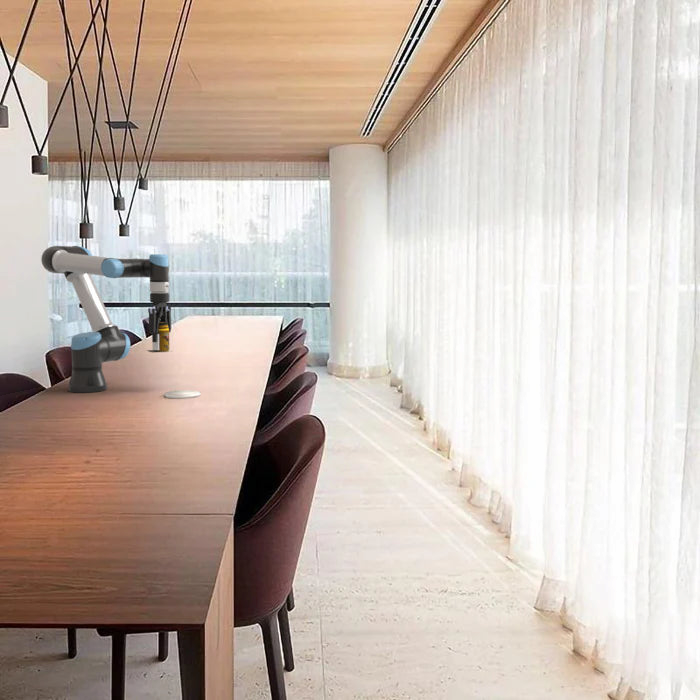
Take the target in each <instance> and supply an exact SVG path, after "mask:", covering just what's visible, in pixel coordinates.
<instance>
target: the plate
mask: <svg viewBox="0 0 700 700" xmlns="http://www.w3.org/2000/svg"><path fill="white" fill-rule="evenodd" d="M163 396H164V398H167V399H172V400H173V399H177V400H180V399H183V400H184V399H185V400H186V399H193V398H198V397H200V396H201V391H198V390H191V389H190V390H189V389H181V390H180V389H179V390H171V391H166V392H164V394H163Z"/></svg>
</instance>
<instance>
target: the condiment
mask: <svg viewBox="0 0 700 700" xmlns="http://www.w3.org/2000/svg"><path fill="white" fill-rule="evenodd" d="M155 331H156V330H155ZM158 334H159V350H153V349H151V350H149V349H147V350H146V351H147V352H149V353H152V354H153V353H154V354H155V353H156V354H157V353H171V352H173V350H170V332H169V329H168V322H161V321H160V322H159V329H158Z"/></svg>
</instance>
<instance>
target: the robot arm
mask: <svg viewBox="0 0 700 700" xmlns="http://www.w3.org/2000/svg"><path fill="white" fill-rule="evenodd" d="M40 261H41V264H42V267H43V268H44V269H45V271H48V272H49V273H52V274H63V275H64V277H65V279H66V281H67V282H69V283H71V284H72V286H73V289H74V291H75V293H76V295H77V298H78V300H79V303H80V305H81V308H82V309H83V312H84V315H85V316H86V318H87V320H88V322H89V326H90V327H91V330H92V331H89V332H88V331H87V332H81V333H77V334H75V335H73V336H72V338H71V341H70V349H71V366H72V367H71V368H72V369H71V375H70V379H69V383H68V385H67V386H68V391H69V392H72V393H95V392H102V391H106V390H108V383H107V381H106V378H105V375H104V372H103V363H106V362H107V363H109V362H113V361H114V362H116V361H119V360H123V359H124V358H126V357H127V356H128V355H129V353H130V349H131V339H130V337H129V336H128V334H126V333H125V332H122V331H120V329H119V327H118V325H116V324H114V323H113V322H112V319H111V317H110V315H109V312H108V311H107V308H106V306H105V304H104V302H103V299H102V297H101V295H100V293H99V290H98V288H97V286H96V284H95V281H94V279H93V277H92V275H95V276H101V277H105V278H107V279H118V278H119V279H122V278H123V279H125V278H149V292H150V294H149V301H150V303H152V307H150V308H148V309H147V311H148V334H150V335H151V338H152V339H151V341H152V347H151V348H152V350H159V334H158V329H159V322H168V329H169V333H171V330H172V318H171V317H172V316H171V315H172V314H171V310H172V306H168V305H167V303H169V302H170V293H169V291H170V284H169V281H170V280H169V278H170V277H169V275H170V273H169V270H170V268H169V267H170V264H169V262H170V261H169V256H168V255H167V254H165V253H164V254H163V253H162V254H158V253H155V254H149V258H137V257H136V258H114V257H104V256H95V255H93V254H92V252H91V251H90V250H89V249H88V248H86V247H84V246H79V245H71V246H70V245H67V246H66V245H53V246H49V247H47V248H46V249H45V250H44V251H43V252H42V254H41V259H40ZM155 330H156V331H155Z"/></svg>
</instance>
